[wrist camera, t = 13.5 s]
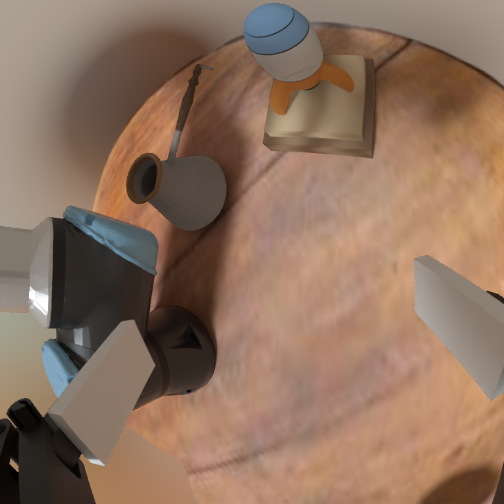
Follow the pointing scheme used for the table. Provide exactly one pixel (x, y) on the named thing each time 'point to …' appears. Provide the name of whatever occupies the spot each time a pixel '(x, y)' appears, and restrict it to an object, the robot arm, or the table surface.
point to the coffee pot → (180, 179)
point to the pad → (328, 114)
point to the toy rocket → (289, 53)
